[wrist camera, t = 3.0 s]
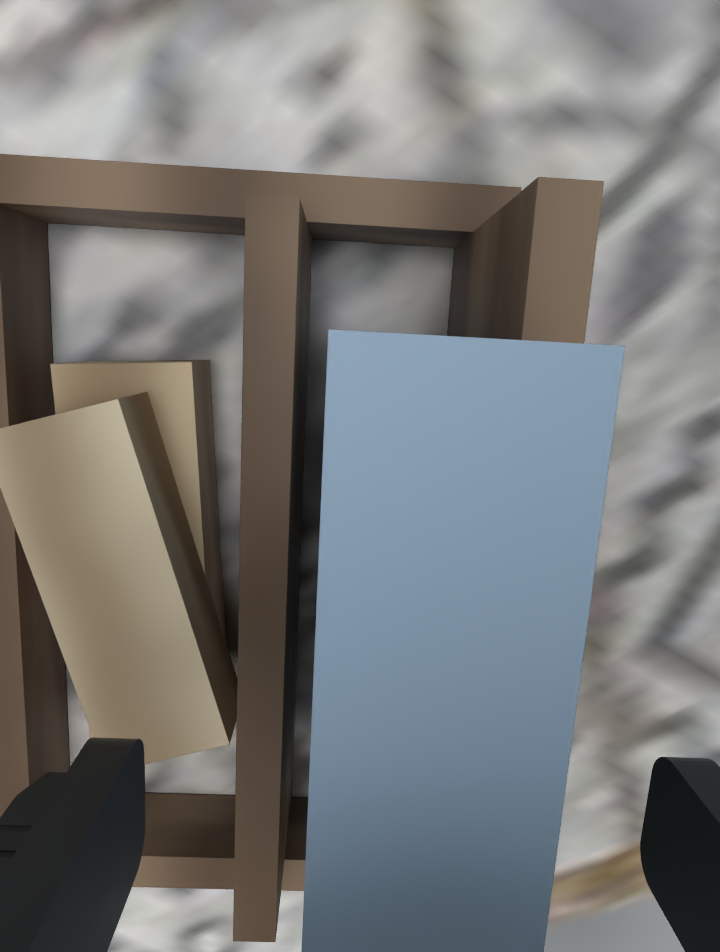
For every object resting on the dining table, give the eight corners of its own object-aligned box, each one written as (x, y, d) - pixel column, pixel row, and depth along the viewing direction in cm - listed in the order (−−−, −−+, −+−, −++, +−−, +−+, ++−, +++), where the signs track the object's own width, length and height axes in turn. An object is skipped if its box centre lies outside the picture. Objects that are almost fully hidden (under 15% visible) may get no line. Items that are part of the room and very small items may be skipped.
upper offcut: (147, 391, 19) (117, 398, 16) (242, 696, 21) (229, 744, 18) (27, 421, 19) (-20, 433, 16) (134, 722, 21) (106, 773, 18)
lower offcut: (212, 359, 21) (191, 362, 19) (230, 689, 24) (215, 738, 21) (90, 360, 21) (50, 363, 18) (121, 692, 24) (90, 741, 21)
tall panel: (416, 342, 21) (625, 346, 5) (388, 727, 24) (475, 1458, 8) (339, 338, 21) (328, 328, 5) (321, 725, 24) (279, 1459, 8)
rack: (495, 209, 20) (612, 108, 11) (439, 828, 25) (492, 1097, 16) (5, 178, 20) (-267, 48, 11) (39, 817, 24) (-134, 1090, 15)
